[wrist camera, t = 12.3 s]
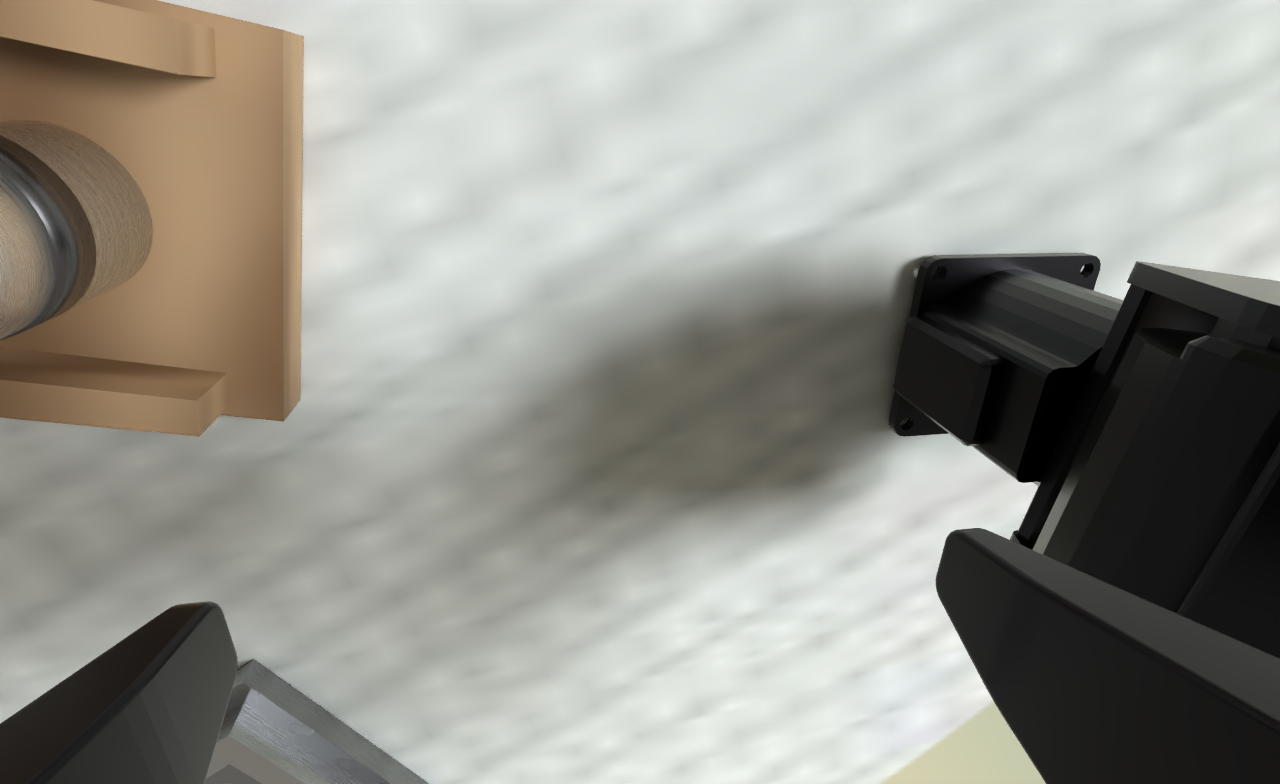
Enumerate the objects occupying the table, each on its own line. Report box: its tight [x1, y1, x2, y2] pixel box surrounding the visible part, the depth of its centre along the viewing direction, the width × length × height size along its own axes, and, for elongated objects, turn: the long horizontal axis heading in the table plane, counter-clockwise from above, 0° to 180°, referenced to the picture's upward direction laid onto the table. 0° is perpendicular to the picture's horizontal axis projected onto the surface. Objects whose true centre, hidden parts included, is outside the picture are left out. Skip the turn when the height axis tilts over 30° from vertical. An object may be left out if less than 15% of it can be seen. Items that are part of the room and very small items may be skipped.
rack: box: [0, 0, 304, 436], centre depth 15 cm, size 10×10×3 cm
